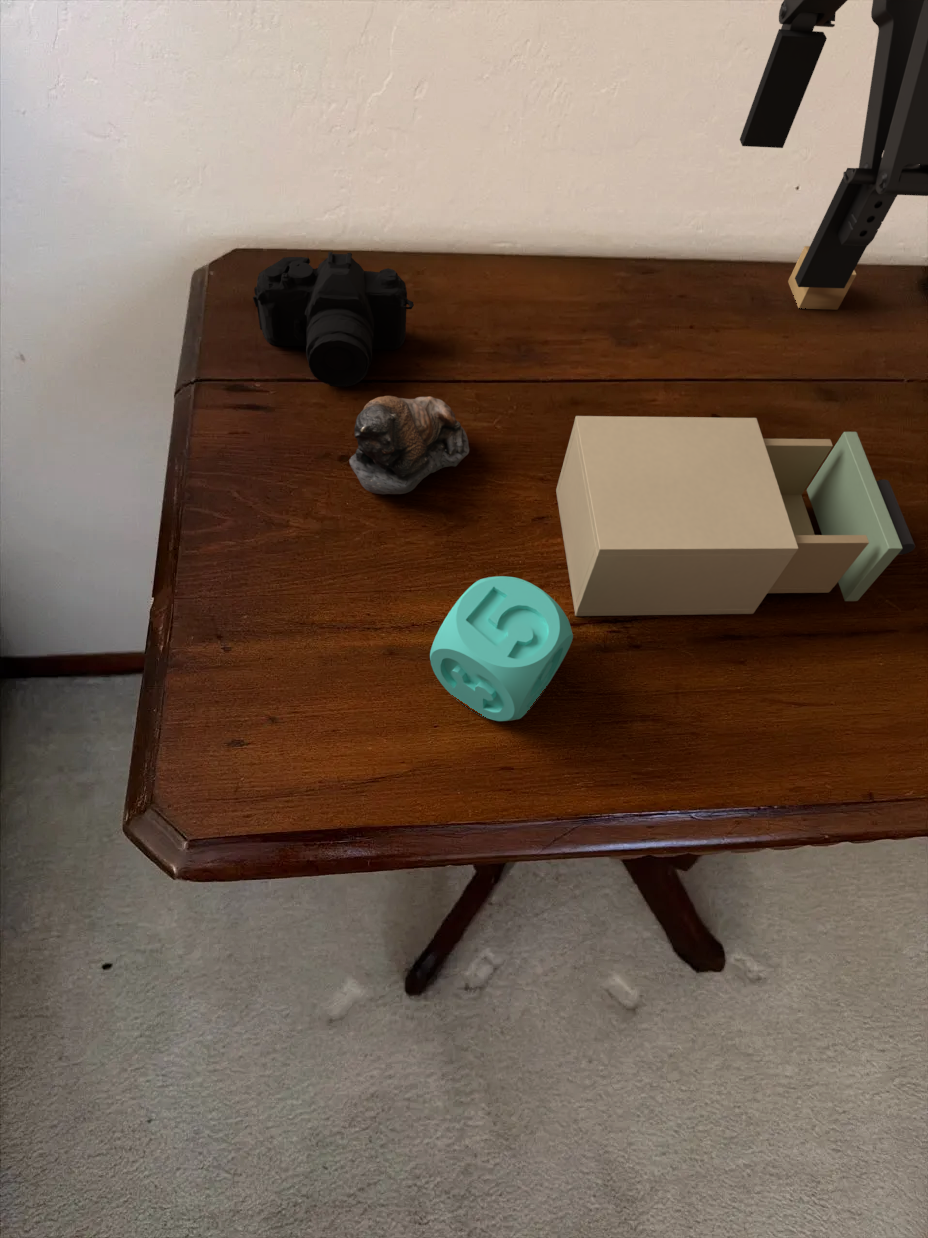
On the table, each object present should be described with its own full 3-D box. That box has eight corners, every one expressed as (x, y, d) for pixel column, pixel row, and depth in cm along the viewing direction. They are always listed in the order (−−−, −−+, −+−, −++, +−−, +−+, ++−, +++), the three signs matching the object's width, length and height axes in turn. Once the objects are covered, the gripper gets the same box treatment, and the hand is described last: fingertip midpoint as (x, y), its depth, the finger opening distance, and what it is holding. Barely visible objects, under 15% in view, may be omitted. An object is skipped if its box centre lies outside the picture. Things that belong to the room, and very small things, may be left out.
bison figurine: (430, 417, 84) (436, 334, 76) (483, 459, 82) (496, 378, 74) (336, 483, 79) (331, 401, 71) (390, 529, 77) (392, 451, 68)
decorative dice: (482, 613, 73) (493, 557, 67) (563, 665, 71) (583, 613, 65) (425, 681, 70) (431, 629, 63) (509, 737, 68) (524, 690, 61)
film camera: (253, 387, 84) (241, 310, 77) (262, 318, 89) (251, 240, 82) (411, 393, 86) (415, 318, 78) (411, 325, 91) (415, 249, 83)
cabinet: (719, 490, 83) (756, 417, 74) (753, 614, 76) (798, 548, 67) (555, 490, 81) (575, 415, 73) (575, 616, 74) (599, 549, 66)
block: (826, 282, 100) (844, 247, 96) (837, 309, 98) (856, 274, 94) (787, 281, 100) (804, 245, 96) (798, 308, 98) (815, 273, 94)
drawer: (858, 489, 83) (900, 431, 76) (901, 600, 77) (950, 548, 70) (668, 489, 81) (694, 429, 74) (695, 603, 75) (726, 549, 68)
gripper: (823, -378, 41) (687, 92, 59) (1041, -166, 28) (781, 352, 46) (974, -361, 42) (794, 97, 60) (1252, -147, 29) (915, 355, 47)
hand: (788, 209), depth 53 cm, fingers open, 13 cm apart
